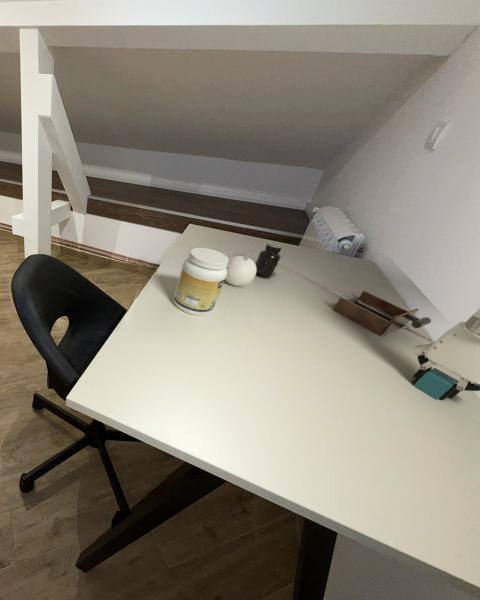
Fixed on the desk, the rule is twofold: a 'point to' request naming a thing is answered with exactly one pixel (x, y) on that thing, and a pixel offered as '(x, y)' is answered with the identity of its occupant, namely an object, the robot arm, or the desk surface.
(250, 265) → the ornament
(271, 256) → the supplement bottle
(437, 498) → the desk surface
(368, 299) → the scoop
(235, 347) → the desk surface
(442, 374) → the block
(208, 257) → the supplement tub
